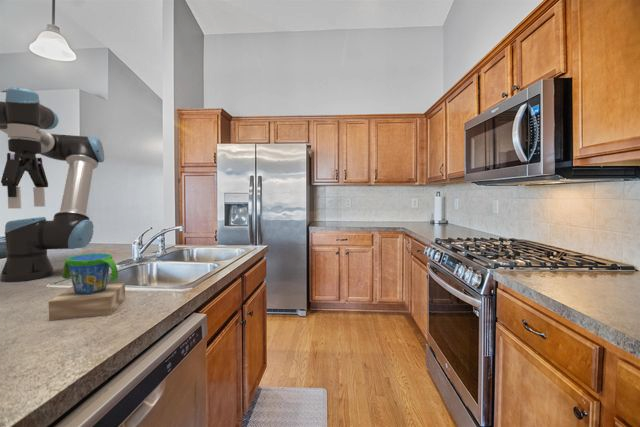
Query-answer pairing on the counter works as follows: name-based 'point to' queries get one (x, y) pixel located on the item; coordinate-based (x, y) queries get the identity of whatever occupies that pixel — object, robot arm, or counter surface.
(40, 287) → the counter surface
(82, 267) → the snack cup
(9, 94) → the robot arm
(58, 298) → the maple block
